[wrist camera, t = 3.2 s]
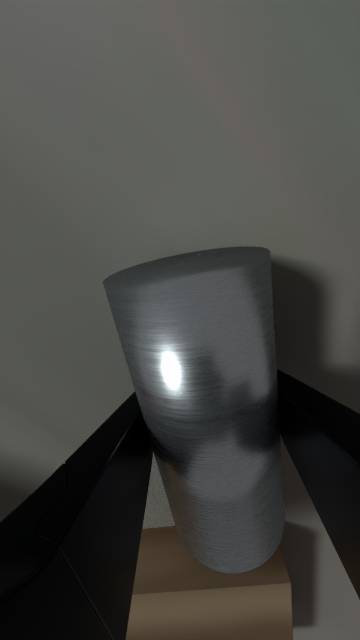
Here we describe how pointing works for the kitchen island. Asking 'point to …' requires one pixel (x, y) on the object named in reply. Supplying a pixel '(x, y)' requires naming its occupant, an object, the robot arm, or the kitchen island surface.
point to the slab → (205, 596)
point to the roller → (209, 396)
